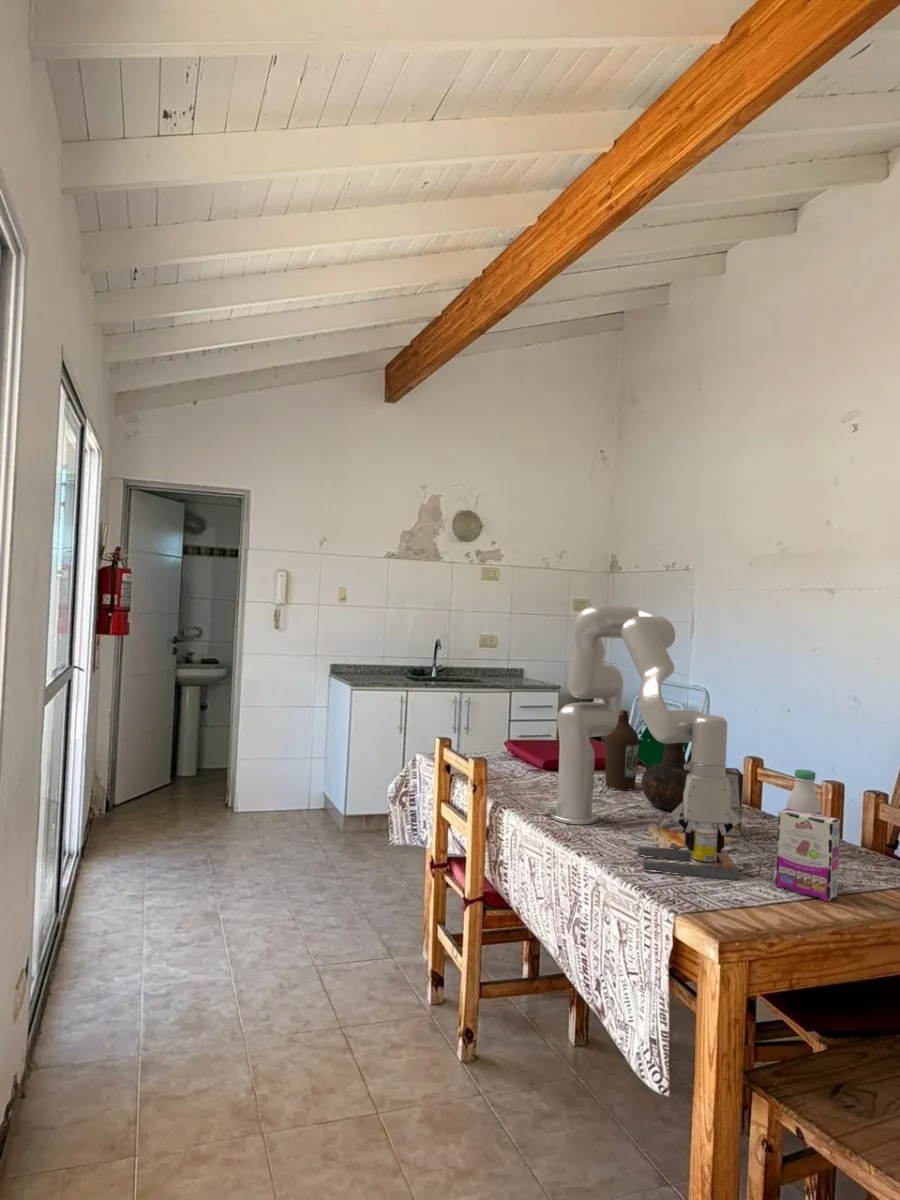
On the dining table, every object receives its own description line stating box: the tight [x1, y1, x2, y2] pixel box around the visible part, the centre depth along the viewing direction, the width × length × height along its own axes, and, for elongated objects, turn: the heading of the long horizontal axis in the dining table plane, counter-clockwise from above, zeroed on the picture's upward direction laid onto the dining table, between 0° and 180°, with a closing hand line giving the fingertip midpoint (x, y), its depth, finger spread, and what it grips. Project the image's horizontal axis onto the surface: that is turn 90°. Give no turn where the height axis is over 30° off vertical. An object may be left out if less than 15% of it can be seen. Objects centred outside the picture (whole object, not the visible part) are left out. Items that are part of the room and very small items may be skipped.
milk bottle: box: [786, 769, 822, 815], centre depth 191 cm, size 8×8×20 cm
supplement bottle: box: [691, 822, 718, 866], centre depth 176 cm, size 6×6×10 cm
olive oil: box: [604, 709, 640, 791], centre depth 252 cm, size 11×11×25 cm
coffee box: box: [714, 767, 745, 837], centre depth 207 cm, size 9×6×16 cm
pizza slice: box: [647, 823, 739, 849], centre depth 195 cm, size 16×22×2 cm
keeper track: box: [637, 845, 739, 880], centre depth 177 cm, size 20×12×3 cm, turn 83°
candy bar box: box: [775, 807, 841, 902], centre depth 164 cm, size 11×5×16 cm, turn 45°
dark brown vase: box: [640, 743, 690, 812], centre depth 229 cm, size 18×18×28 cm
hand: (704, 849), depth 176 cm, fingers closed on supplement bottle, 5 cm apart
